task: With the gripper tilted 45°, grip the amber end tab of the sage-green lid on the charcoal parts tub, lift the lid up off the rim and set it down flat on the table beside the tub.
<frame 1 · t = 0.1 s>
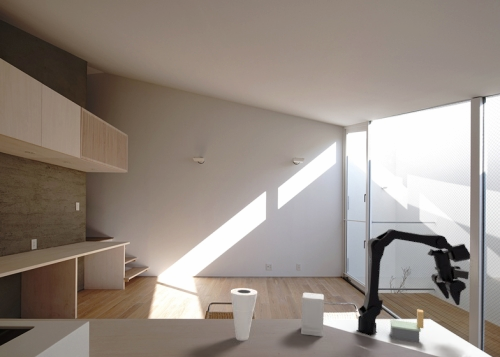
hand: (452, 301, 146), 15 cm above the kitchen counter, tool pointing down, fingers open, 9 cm apart
supplement box: (312, 332, 148), on the kitchen counter
lid: (404, 326, 145), point 5 cm above the kitchen counter, touching tub
tub: (404, 338, 145), on the kitchen counter
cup: (242, 338, 138), on the kitchen counter
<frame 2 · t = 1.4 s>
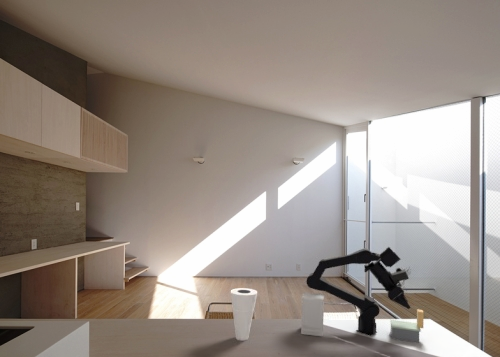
hand: (408, 305, 145), 14 cm above the kitchen counter, tool tilted 45°, fingers open, 9 cm apart
supplement box: (312, 332, 148), on the kitchen counter, touching arm
everything else where it was.
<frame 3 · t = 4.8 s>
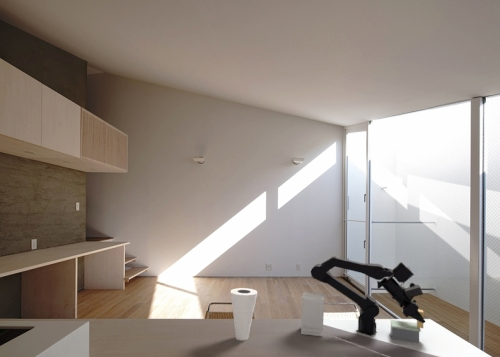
hand: (423, 321, 143), 8 cm above the kitchen counter, tool tilted 45°, fingers closed on lid, 3 cm apart
supplement box: (312, 332, 148), on the kitchen counter
lid: (404, 326, 145), point 5 cm above the kitchen counter, touching gripper, tub
everything else where it was.
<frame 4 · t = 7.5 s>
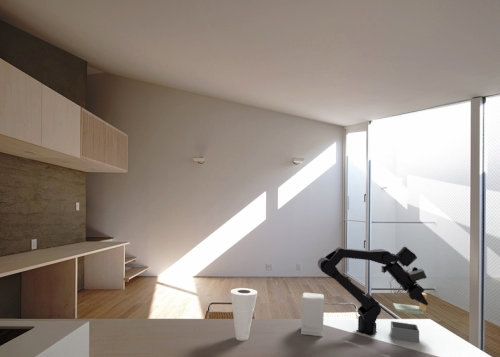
hand: (426, 303, 147), 14 cm above the kitchen counter, tool tilted 45°, fingers closed on lid, 3 cm apart
lid: (407, 308, 148), point 11 cm above the kitchen counter, touching gripper
everything else where it was.
when the fingers open (7 cm above the kitchen counter, at t = 10.3 s): lid drops 3 cm, point 1 cm above the kitchen counter.
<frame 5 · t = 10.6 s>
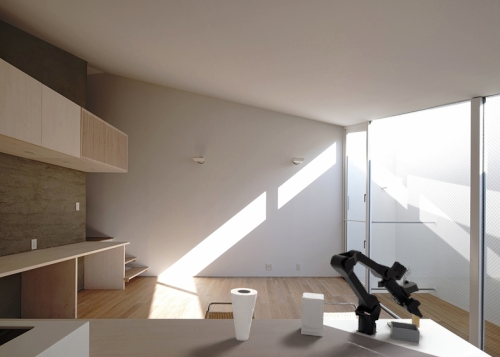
hand: (418, 314, 156), 7 cm above the kitchen counter, tool tilted 45°, fingers open, 7 cm apart
lid: (402, 327, 156), point 1 cm above the kitchen counter
everything else where it was.
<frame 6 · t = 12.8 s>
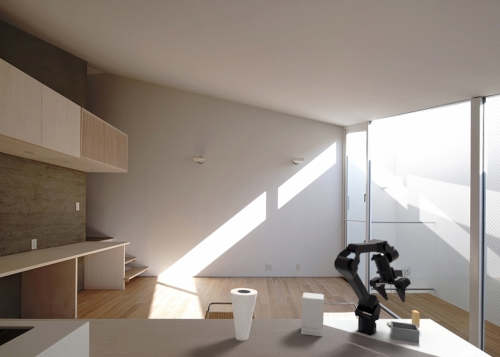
hand: (395, 301, 156), 12 cm above the kitchen counter, tool tilted 20°, fingers open, 9 cm apart
nothing on the kitchen counter moved.
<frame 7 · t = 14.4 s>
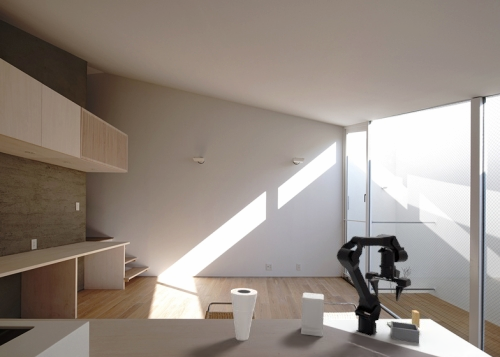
hand: (386, 298, 156), 13 cm above the kitchen counter, tool pointing down, fingers open, 9 cm apart
nothing on the kitchen counter moved.
at the end: lid touching kitchen counter; lid inside the target area on the kitchen counter beside the tub (0.4 cm from its centre), point 0.8 cm above the kitchen counter; lid tilted 1° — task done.
